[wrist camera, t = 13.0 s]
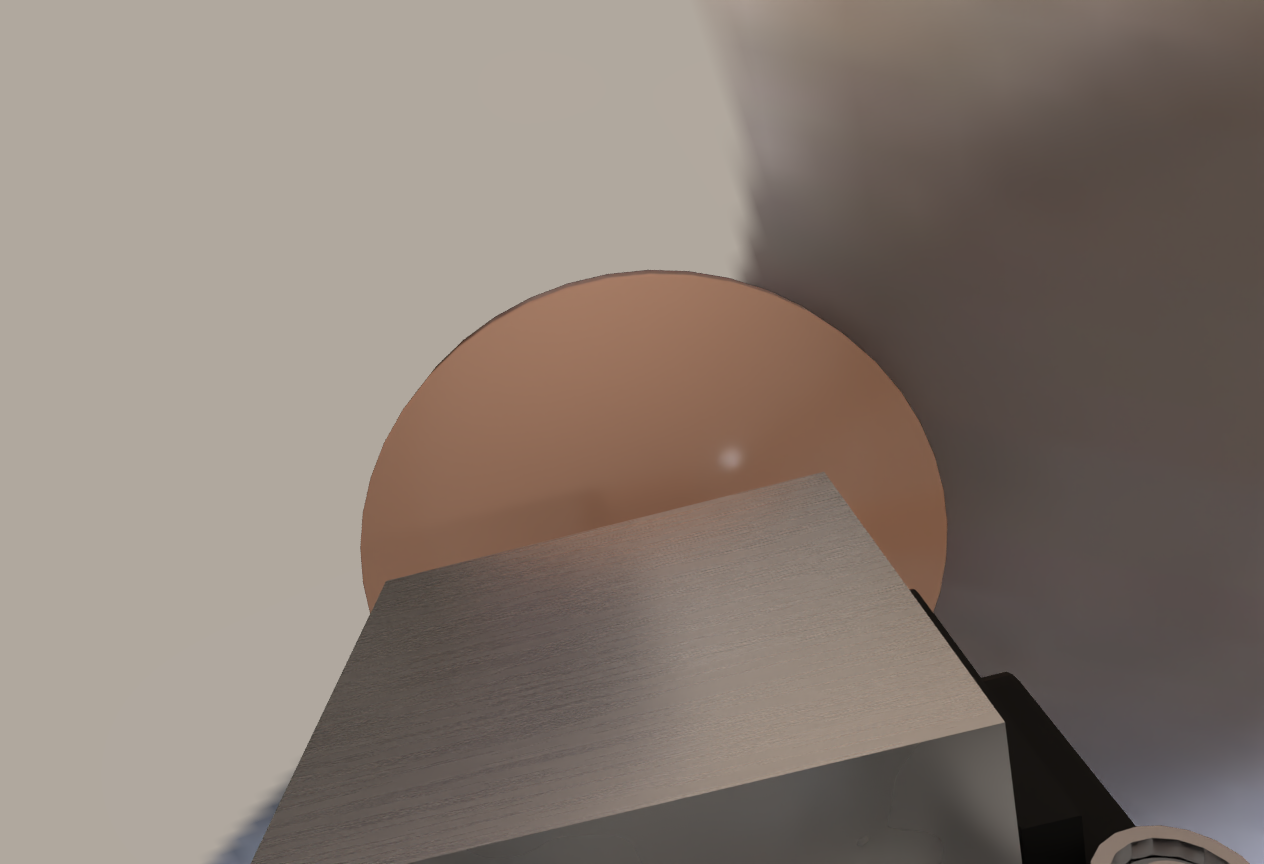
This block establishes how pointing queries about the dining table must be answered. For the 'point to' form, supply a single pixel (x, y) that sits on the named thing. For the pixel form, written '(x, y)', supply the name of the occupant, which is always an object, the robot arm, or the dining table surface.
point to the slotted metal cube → (657, 707)
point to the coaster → (645, 426)
